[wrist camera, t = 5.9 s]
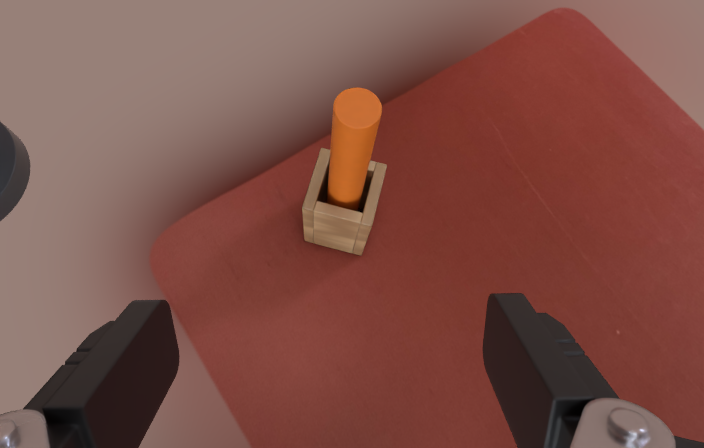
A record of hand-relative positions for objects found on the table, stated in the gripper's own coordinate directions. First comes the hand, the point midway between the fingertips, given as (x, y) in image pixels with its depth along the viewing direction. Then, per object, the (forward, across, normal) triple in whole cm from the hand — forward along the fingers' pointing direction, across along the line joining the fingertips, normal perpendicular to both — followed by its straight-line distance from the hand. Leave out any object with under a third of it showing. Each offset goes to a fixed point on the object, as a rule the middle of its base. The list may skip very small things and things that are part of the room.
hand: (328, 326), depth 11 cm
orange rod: (+25, 0, +7) cm, 26 cm away
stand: (+25, 0, +7) cm, 26 cm away
